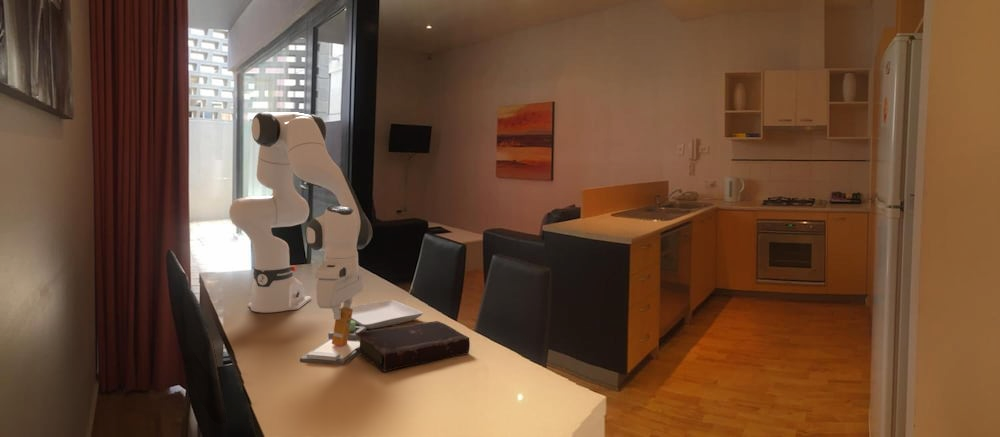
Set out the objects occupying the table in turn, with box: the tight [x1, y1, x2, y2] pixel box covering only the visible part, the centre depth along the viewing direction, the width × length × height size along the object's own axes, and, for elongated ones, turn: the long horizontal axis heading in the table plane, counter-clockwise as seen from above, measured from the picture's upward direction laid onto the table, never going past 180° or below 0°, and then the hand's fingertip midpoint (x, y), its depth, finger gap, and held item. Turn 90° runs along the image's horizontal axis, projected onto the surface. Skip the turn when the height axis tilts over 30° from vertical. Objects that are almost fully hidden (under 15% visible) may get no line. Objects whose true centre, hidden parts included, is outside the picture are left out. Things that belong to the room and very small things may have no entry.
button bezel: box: [327, 325, 367, 341], centre depth 159 cm, size 8×8×2 cm
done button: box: [349, 321, 357, 333], centre depth 159 cm, size 4×4×3 cm
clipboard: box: [299, 338, 360, 366], centre depth 146 cm, size 16×12×2 cm
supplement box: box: [332, 306, 353, 346], centre depth 149 cm, size 3×3×10 cm
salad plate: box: [350, 299, 424, 330], centre depth 177 cm, size 21×21×3 cm
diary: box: [355, 320, 471, 372], centre depth 146 cm, size 19×25×5 cm
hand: (342, 316), depth 149 cm, fingers open, 3 cm apart
